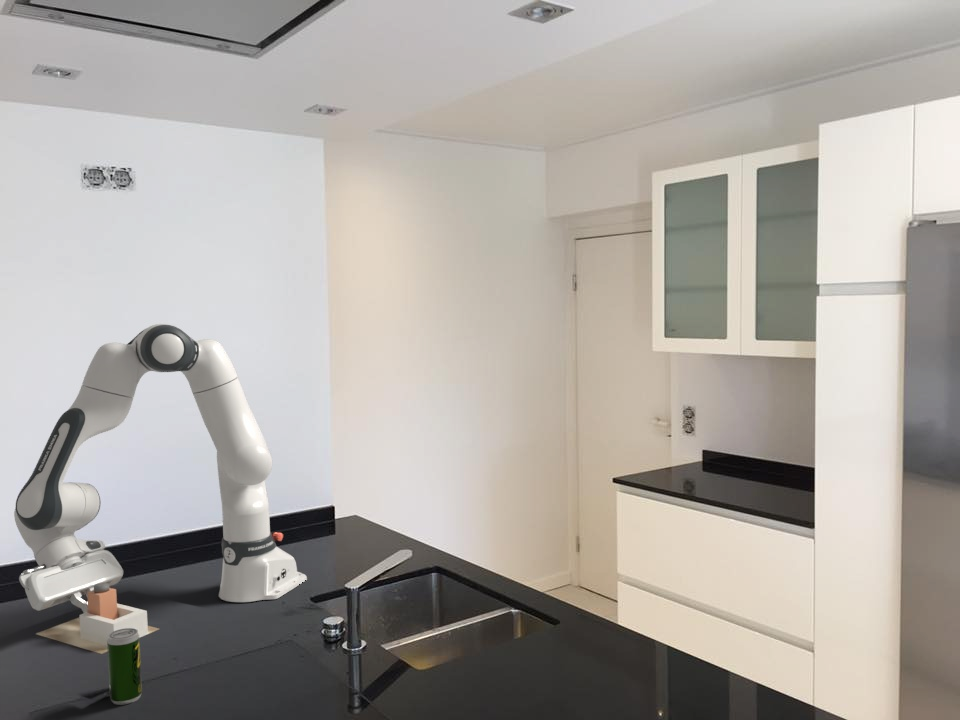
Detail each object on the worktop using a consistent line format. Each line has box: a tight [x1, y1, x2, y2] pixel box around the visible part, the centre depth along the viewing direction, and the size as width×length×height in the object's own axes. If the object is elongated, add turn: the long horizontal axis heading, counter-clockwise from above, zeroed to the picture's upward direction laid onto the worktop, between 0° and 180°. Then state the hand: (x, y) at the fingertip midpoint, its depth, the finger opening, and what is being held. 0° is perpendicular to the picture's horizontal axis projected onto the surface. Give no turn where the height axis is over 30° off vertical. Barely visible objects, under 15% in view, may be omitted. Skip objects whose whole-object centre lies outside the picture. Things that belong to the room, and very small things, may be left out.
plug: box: [86, 583, 118, 620], centre depth 172 cm, size 4×4×10 cm
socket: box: [79, 602, 149, 646], centre depth 171 cm, size 8×11×5 cm
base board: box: [35, 616, 160, 655], centre depth 174 cm, size 14×22×2 cm, turn 61°
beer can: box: [107, 628, 143, 706], centre depth 146 cm, size 5×5×12 cm
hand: (92, 610), depth 174 cm, fingers closed
